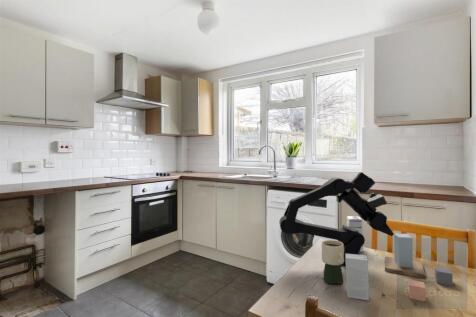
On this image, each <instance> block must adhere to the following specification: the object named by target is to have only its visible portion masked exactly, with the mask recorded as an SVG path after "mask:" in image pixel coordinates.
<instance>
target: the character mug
mask: <svg viewBox="0 0 476 317" xmlns="http://www.w3.org/2000/svg"><path fill="white" fill-rule="evenodd" d="M321 261H322V262H323V263H325V264H324V269H323V276H322V278H323V281H325V282H326V283H329V284H342V283H343V282H344V276H343V270H342V266H340V265H341V264H343V263H344V245H343V243H342V242H339V241H338V240H335V239H325V240H323V241H321Z"/></svg>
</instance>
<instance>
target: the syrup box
mask: <svg viewBox="0 0 476 317" xmlns="http://www.w3.org/2000/svg"><path fill="white" fill-rule="evenodd" d="M346 226H348V227H353V228H355V229H356V230H357V231H358V232H359V233H361V234H362V235H363V236H364V233H363V230H364V229H363V219H362V218H361V217H360V216H359V215H357V216H356V215H350V216H349V215H347V216H346ZM360 252H364V245H363V246H361V249H360Z"/></svg>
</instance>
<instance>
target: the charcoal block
mask: <svg viewBox="0 0 476 317" xmlns="http://www.w3.org/2000/svg"><path fill="white" fill-rule="evenodd" d="M434 279H435V282H436V284H440V285H445V286H451V287H453V284H454V283H453V279H454V278H453V272H452V271H451V268H447V267H439V266H434Z"/></svg>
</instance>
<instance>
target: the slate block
mask: <svg viewBox="0 0 476 317" xmlns="http://www.w3.org/2000/svg"><path fill="white" fill-rule="evenodd" d="M393 240H394V242H393V244H394V246H393V248H394V250H393V251H394V252H393V253H394V258H395V263H396V264H397V265H398V266H399V267H408V268H413V261H414V257H413V256H414V255H413V250H414V247H413V245H414V244H413V236H411V235H409V234H408V233H394V235H393Z"/></svg>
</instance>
